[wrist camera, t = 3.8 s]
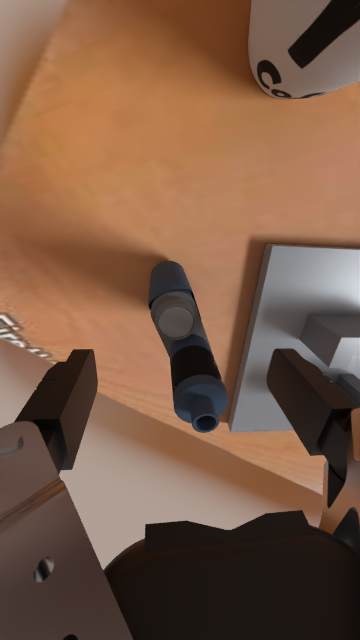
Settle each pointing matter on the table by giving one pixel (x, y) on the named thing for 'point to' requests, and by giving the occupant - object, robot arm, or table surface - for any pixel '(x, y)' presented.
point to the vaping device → (186, 349)
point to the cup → (304, 46)
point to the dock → (299, 327)
